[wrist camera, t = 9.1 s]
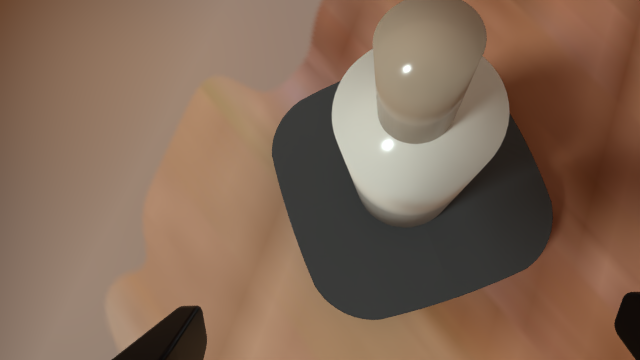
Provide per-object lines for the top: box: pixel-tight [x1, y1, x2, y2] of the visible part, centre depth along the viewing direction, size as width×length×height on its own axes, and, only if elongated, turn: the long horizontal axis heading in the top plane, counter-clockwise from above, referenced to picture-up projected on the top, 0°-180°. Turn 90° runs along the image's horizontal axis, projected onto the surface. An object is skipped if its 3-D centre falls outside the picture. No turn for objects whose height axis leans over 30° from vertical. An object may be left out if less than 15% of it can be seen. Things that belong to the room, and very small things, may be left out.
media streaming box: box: [272, 81, 553, 320], centre depth 21 cm, size 15×15×3 cm
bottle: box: [332, 0, 509, 228], centre depth 13 cm, size 5×5×12 cm
